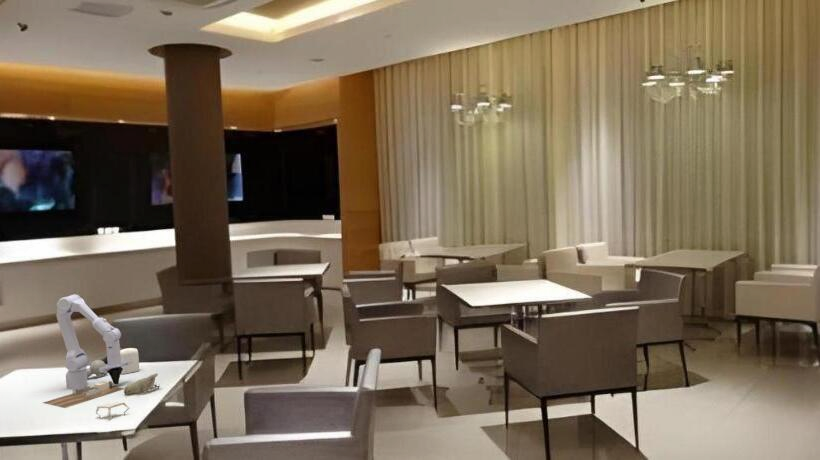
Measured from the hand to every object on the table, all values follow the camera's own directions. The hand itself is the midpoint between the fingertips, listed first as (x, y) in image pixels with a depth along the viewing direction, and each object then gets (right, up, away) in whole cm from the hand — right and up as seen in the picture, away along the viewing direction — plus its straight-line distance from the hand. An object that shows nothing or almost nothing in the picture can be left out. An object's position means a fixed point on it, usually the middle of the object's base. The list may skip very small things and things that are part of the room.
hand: (115, 383), depth 317 cm
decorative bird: (+16, -2, -10) cm, 19 cm away
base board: (-8, -3, -13) cm, 16 cm away
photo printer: (-5, -1, +26) cm, 27 cm away
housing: (-8, -2, -12) cm, 15 cm away
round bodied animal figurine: (-19, -2, +19) cm, 27 cm away
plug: (-4, -2, -6) cm, 7 cm away
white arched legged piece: (+17, -4, -40) cm, 44 cm away
